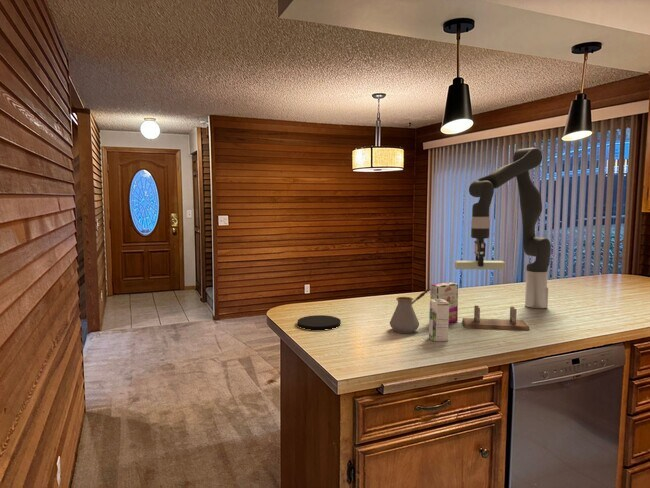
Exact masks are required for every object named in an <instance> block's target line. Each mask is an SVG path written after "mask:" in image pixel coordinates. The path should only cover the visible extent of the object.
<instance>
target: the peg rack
mask: <svg viewBox="0 0 650 488" xmlns="http://www.w3.org/2000/svg"><path fill="white" fill-rule="evenodd" d="M473 309H474V310H473V311H474V312H473V317H462V324H463V325H464V328H465V329H466V328H467V329H484V330H485V329H489V330H510V331H511V330H512V331H514V330H515V331H530V325H528V324H527V323H526V321H525V320H523V319H517V308H515V306H510V307H509V319H507V318H506V319H505V318H501V319H500V318H481V317H480V316H481V308H480V307H479V305H474V307H473Z"/></svg>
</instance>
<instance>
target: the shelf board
mask: <svg viewBox="0 0 650 488" xmlns="http://www.w3.org/2000/svg"><path fill="white" fill-rule="evenodd" d="M454 268H455V269H456V270H506V262H505V261H503V260H484V266H483V267H479V266H478V261H476V260H454Z"/></svg>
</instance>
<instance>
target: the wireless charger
mask: <svg viewBox="0 0 650 488" xmlns="http://www.w3.org/2000/svg"><path fill="white" fill-rule="evenodd" d="M341 323H342V322H341V319H340V318H338V317H336V316H331V315H325V314H324V315H323V314H321V315H307V316H303V317H300V318H299V319H298V320H297V327H298V326H299V327H301V328H300V329H302V328H305V329H311V330H310V331H312V330H325V329H332V328H336V327H338V326H340V327H341V325H342V324H341ZM340 324H341V325H340ZM299 327H298V328H299ZM338 328H339V327H338ZM305 329H304V330H305ZM336 329H337V328H336ZM332 330H333V329H332ZM325 331H326V330H325Z"/></svg>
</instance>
